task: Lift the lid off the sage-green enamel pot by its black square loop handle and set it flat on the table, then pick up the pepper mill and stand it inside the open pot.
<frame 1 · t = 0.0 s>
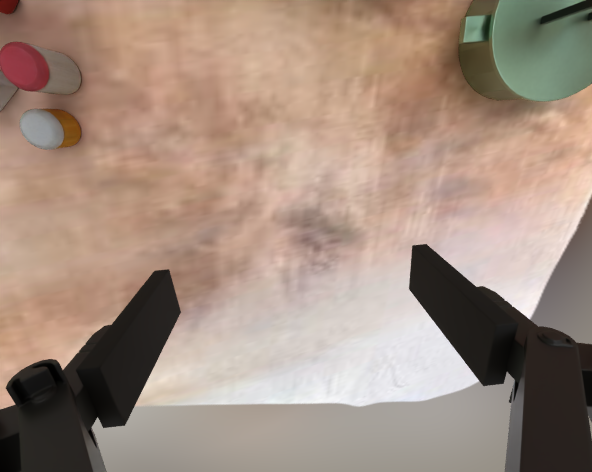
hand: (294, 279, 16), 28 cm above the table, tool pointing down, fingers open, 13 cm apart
pot: (516, 35, 37), on the table
lid: (562, 20, 31), point 6 cm above the table, touching pot
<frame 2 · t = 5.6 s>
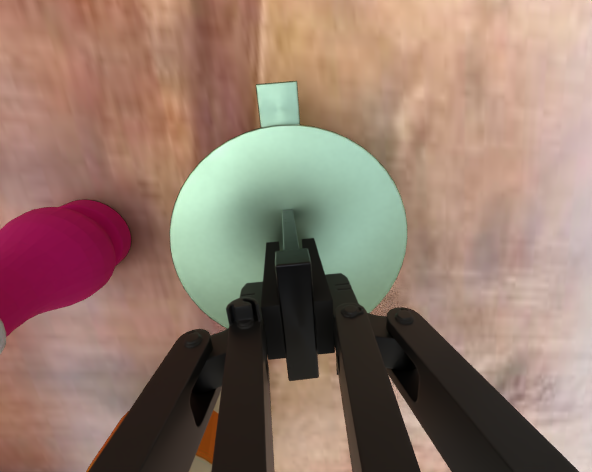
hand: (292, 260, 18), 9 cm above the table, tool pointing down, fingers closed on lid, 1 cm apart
reusable coffee cup: (190, 392, 34), on the table
pot: (288, 215, 26), on the table
lid: (290, 246, 20), point 7 cm above the table, touching gripper
pepper mill: (95, 233, 26), on the table
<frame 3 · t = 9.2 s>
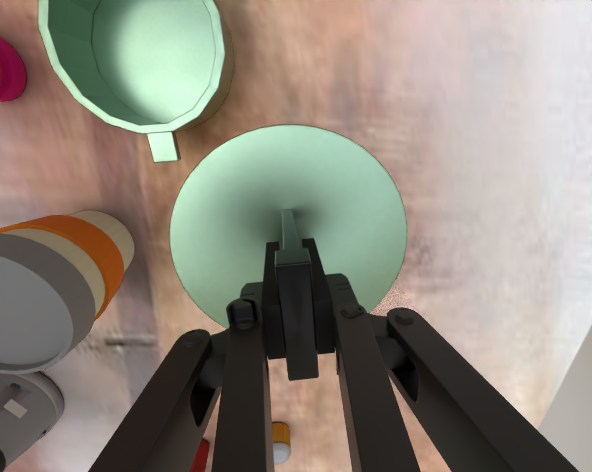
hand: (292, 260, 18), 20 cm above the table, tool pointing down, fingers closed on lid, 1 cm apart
reusable coffee cup: (98, 243, 38), on the table
pot: (162, 55, 30), on the table
lid: (290, 246, 20), point 18 cm above the table, touching gripper
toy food: (224, 452, 54), on the table
when the fingers open (3 cm above the table, at t = 13.0 s): lid stays where it is, point 1 cm above the table.
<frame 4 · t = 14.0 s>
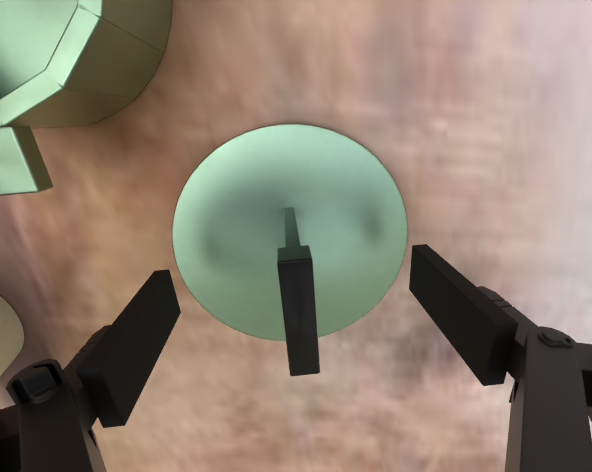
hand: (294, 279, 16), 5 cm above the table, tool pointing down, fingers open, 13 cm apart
lid: (291, 244, 20), point 1 cm above the table
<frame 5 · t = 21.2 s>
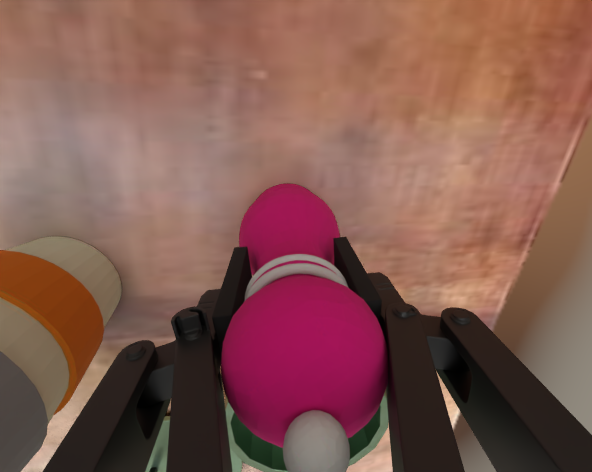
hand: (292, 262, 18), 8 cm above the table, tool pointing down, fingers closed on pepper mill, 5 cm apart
reusable coffee cup: (70, 281, 27), on the table
pot: (301, 367, 32), on the table
lid: (177, 461, 36), point 1 cm above the table
pepper mill: (287, 218, 26), on the table, touching gripper
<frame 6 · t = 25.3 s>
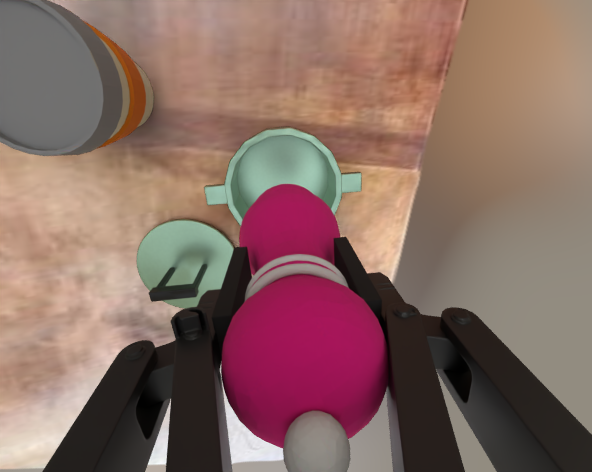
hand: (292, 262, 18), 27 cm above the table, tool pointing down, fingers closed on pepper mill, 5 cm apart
reusable coffee cup: (118, 93, 38), on the table
pot: (283, 180, 43), on the table
lid: (189, 265, 47), point 1 cm above the table
pepper mill: (287, 218, 26), point 19 cm above the table, touching gripper
when the fingers open (9 cm above the table, at t = 29.4 s): pepper mill stays where it is, resting on pot.
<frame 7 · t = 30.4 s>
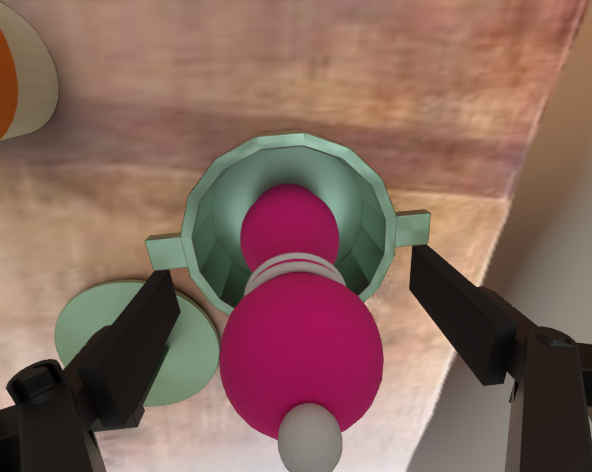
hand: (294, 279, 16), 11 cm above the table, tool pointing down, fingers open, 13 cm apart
pot: (288, 216, 26), on the table
lid: (141, 346, 30), point 1 cm above the table
pepper mill: (287, 218, 26), resting on pot
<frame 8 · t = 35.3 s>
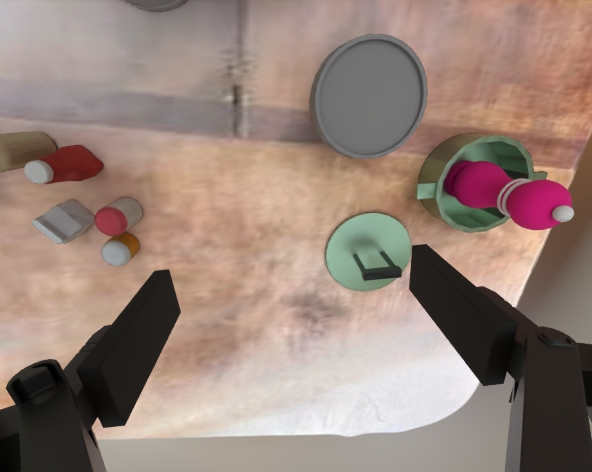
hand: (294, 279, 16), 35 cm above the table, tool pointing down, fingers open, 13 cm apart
reusable coffee cup: (342, 105, 45), on the table
pot: (460, 178, 50), on the table
lid: (367, 252, 54), point 1 cm above the table
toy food: (79, 188, 48), on the table
pepper mill: (461, 179, 50), resting on pot
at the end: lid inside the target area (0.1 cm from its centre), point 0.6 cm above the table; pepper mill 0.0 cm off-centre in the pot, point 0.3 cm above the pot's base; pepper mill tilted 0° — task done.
